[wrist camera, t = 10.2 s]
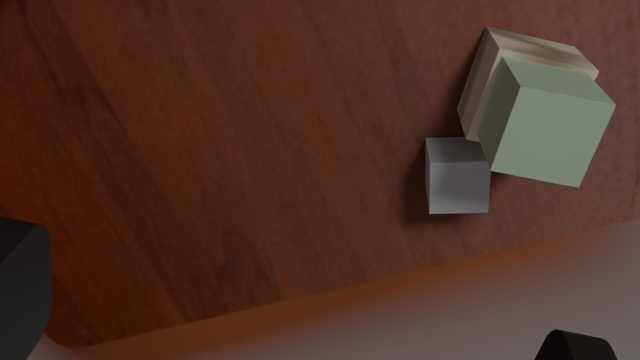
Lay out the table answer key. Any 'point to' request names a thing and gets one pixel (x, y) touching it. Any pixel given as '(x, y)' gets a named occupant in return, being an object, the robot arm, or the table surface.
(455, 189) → the grey block
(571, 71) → the green cube
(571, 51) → the maple block
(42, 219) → the table surface
